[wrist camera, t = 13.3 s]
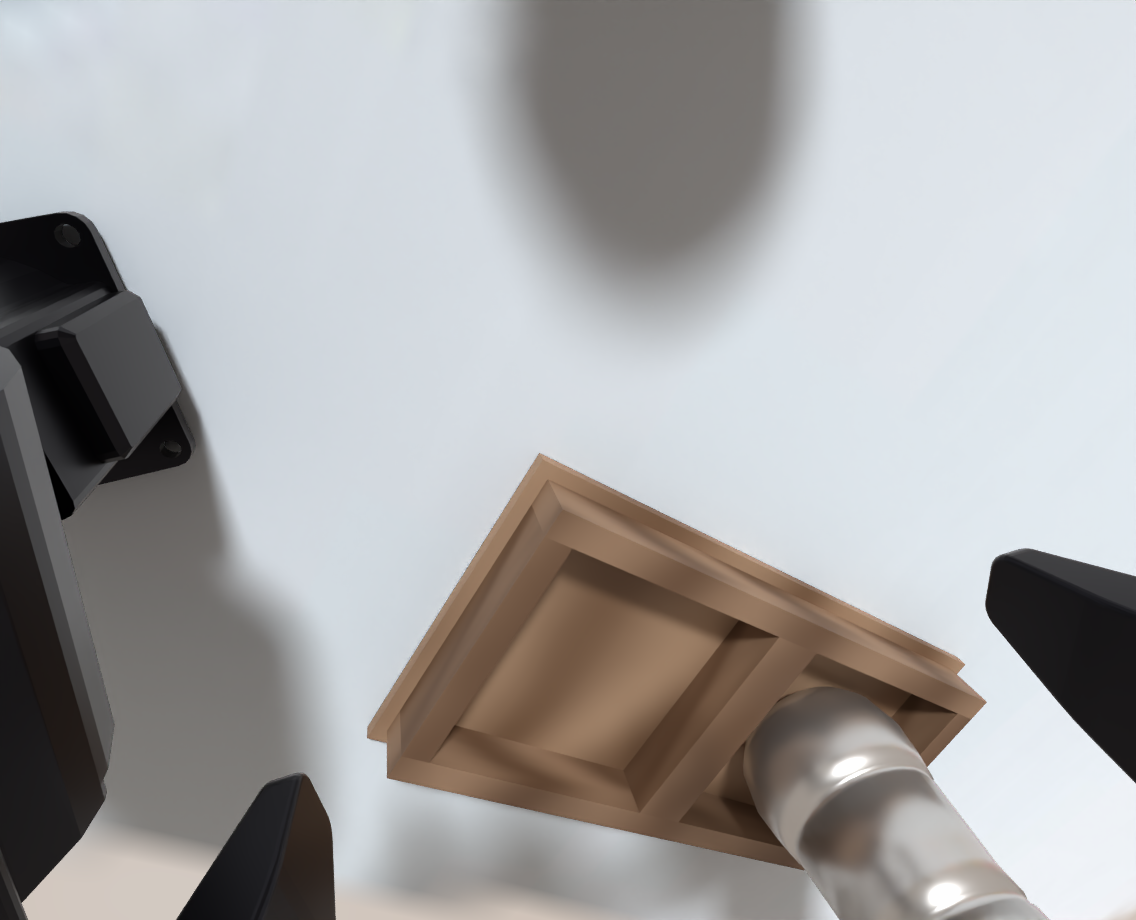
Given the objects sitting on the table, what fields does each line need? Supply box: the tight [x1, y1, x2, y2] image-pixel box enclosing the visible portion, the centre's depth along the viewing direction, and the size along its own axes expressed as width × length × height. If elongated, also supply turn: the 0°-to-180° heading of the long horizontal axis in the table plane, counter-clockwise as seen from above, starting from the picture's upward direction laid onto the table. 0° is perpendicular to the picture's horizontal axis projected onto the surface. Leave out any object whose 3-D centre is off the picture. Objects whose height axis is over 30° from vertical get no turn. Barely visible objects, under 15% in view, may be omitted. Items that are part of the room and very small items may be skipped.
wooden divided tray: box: [367, 453, 987, 870], centre depth 26 cm, size 23×12×2 cm, turn 58°
